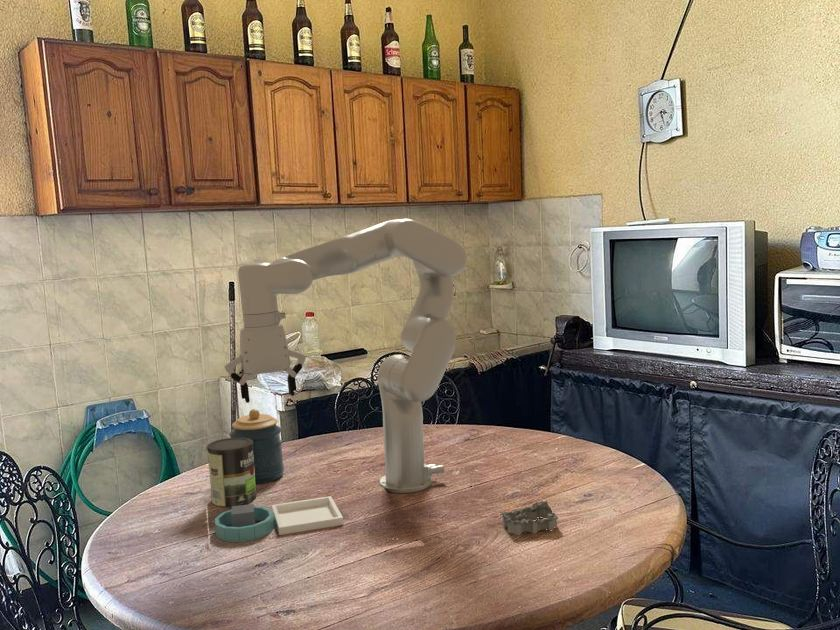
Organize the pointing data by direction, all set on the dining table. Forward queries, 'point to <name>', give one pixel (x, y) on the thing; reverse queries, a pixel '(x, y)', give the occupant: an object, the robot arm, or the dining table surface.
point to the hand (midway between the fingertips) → (269, 397)
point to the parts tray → (306, 515)
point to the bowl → (246, 531)
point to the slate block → (243, 515)
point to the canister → (262, 444)
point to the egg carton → (530, 518)
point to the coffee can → (232, 472)
